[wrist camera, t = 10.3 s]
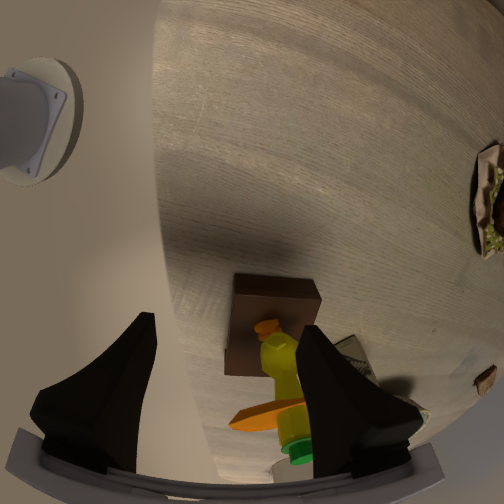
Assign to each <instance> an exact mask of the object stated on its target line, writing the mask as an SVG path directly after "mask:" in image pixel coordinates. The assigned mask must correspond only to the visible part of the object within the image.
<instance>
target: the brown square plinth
mask: <svg viewBox="0 0 504 504" xmlns="http://www.w3.org/2000/svg"><path fill="white" fill-rule="evenodd" d="M233 293H234V297H233V304H232V312H231V320H230V328H229V336H228V344H227V349H225V353H224V375H231V376H254V377H271V376H269V375H268V374H267V373H265V372H264V371H262V364H261V356H260V354H261V345H262V343H263V342H264V341H260V340H259V338H258V334H260V333H256V332H255V330H254V326H255V325H257V324H258V323H260V322H262V321H266V320H273V319H278V322H279V325H278V326H277V327H279V326H280V328H281V329H282V332H283V333H285V334H287V335H289V336H290V337H292V338H293V339H294V340H296V341H297V342H298V343H299V340H300V338H301V335H302V332H303V329H304V326H305V325H313V324H314V322H315V319H316V316H317V313H318V310H319V307H320V304H321V301H322V298H321V296H320V295H319V292H318V290H317V288H316V285H315V283H314V281H313V280H305V279H292V278H279V277H267V276H255V275H243V274H234V279H233Z"/></svg>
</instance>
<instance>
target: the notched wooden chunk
mask: <svg viewBox="0 0 504 504" xmlns="http://www.w3.org/2000/svg"><path fill="white" fill-rule="evenodd" d="M496 371H497V366H492V367H491V368H490V369H489V370H488V371H487V372H486V373H484V374H483V375H481V376H480V377H478V378H477V379H476V387H477V391H478V394H479V395H480V396H484V395H485V394H486V393H487V392H488V391H489V390H490V389H491V387H492V386H493V383H494V380H495V376H496Z"/></svg>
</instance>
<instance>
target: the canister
mask: <svg viewBox="0 0 504 504" xmlns="http://www.w3.org/2000/svg"><path fill="white" fill-rule="evenodd" d="M272 472H273V480H274V483H284V482H294V481H302V480H310V479H313V460H312V461H310V462H308V463H305V464H301V465H291V463H290V457H289V458H286V459H284V460H281V461H279V462H277V463H276V464H274V465H273V467H272ZM298 497H301V496H298Z"/></svg>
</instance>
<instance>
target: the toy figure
mask: <svg viewBox="0 0 504 504" xmlns="http://www.w3.org/2000/svg"><path fill="white" fill-rule="evenodd" d="M278 325H279V322H278V319H273V320H266V321H262V322H260V323H258V324H257V325H255V326H254V330H255V332H256V333H260V334H258V338H259V340H260V341H264V342H263V343H262V345H261V354H260V356H261V364H262V371H264V372H265V373H267V374H268V375H269V376H271V377H272V378H273V379H275V401H272V402H268V403H265V404H261V405H258V406H254V407H250V408H247V409H243V410H240V411H239V412H238V413H237V414H236V416H235V417H234V418H233V419H232V420H231V422H230V423H229V424H228V425H229V426H230V427H231V428H232V429H234V430H239V431H245V432H253V431H263V430H269V429H275V428H278V435H279V442H280V446H282V449H281V452H282V453H284V454H289V456H290V463H291V465H301V464H305V463H308V462H310V461H312V460H313V454H312V440H311V431H310V423H309V416H308V411H307V406H306V402H305V399H304V395H303V391H302V389H301V386H300V384H299V381H298V379H297V376H296V374H297V373H298V372H297V366H296V358H295V352H296V349H297V346H298V342H297V341H296V340H294V339H293V338H292V337H290V336H289V335H287V334H285V333H283V332H282V329H281V328H280V326H279V327H277V326H278Z"/></svg>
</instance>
